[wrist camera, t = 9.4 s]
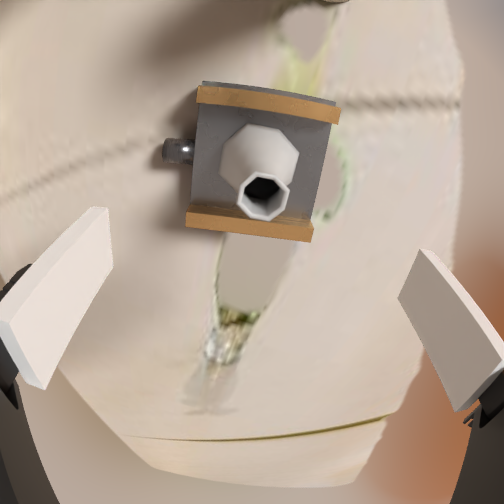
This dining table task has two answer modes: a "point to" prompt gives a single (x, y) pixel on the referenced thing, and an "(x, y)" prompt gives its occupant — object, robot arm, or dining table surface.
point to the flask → (259, 169)
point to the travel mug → (335, 0)
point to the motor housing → (225, 126)
